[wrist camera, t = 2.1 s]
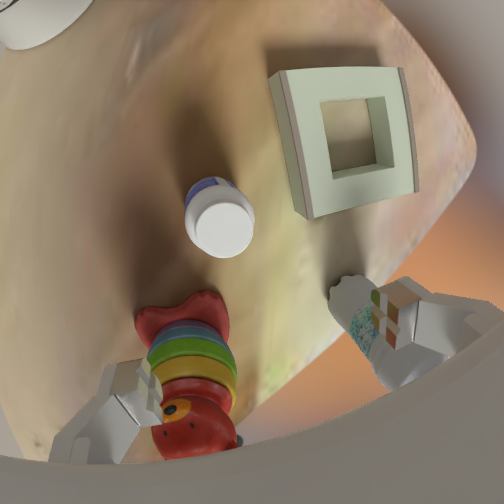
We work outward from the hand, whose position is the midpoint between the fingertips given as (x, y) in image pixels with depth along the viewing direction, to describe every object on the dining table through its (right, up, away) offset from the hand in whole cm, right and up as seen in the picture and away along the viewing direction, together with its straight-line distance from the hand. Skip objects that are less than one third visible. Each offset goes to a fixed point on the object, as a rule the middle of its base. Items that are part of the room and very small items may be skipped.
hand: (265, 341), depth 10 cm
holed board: (+9, +15, +19) cm, 26 cm away
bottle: (+11, -2, +26) cm, 29 cm away
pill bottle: (-4, +8, +19) cm, 21 cm away
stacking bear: (-8, -7, +24) cm, 26 cm away
